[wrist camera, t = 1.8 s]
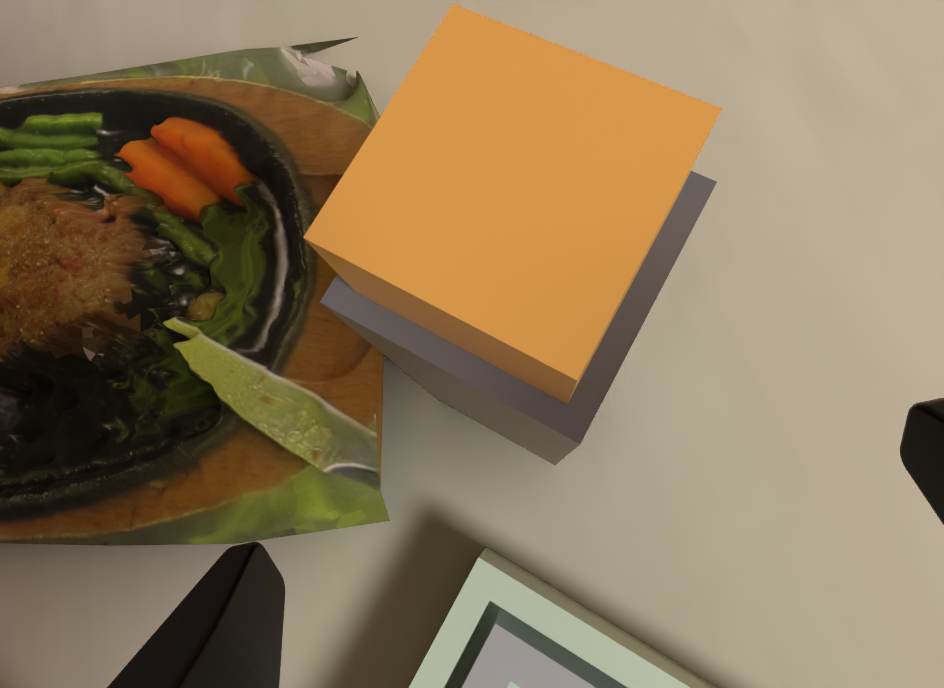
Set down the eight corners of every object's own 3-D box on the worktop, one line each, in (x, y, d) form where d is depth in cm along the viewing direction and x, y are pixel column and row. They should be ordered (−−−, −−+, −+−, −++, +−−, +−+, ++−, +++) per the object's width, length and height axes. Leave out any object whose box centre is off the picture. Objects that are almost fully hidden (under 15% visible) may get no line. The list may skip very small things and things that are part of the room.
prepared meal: (-488, 543, 18) (-321, 53, 22) (-330, 531, 22) (-209, 109, 26) (373, 557, 16) (394, 14, 20) (398, 542, 20) (412, 80, 23)
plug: (616, 347, 19) (770, 93, 7) (554, 465, 18) (594, 433, 6) (501, 289, 20) (442, -31, 7) (438, 400, 19) (257, 251, 7)
